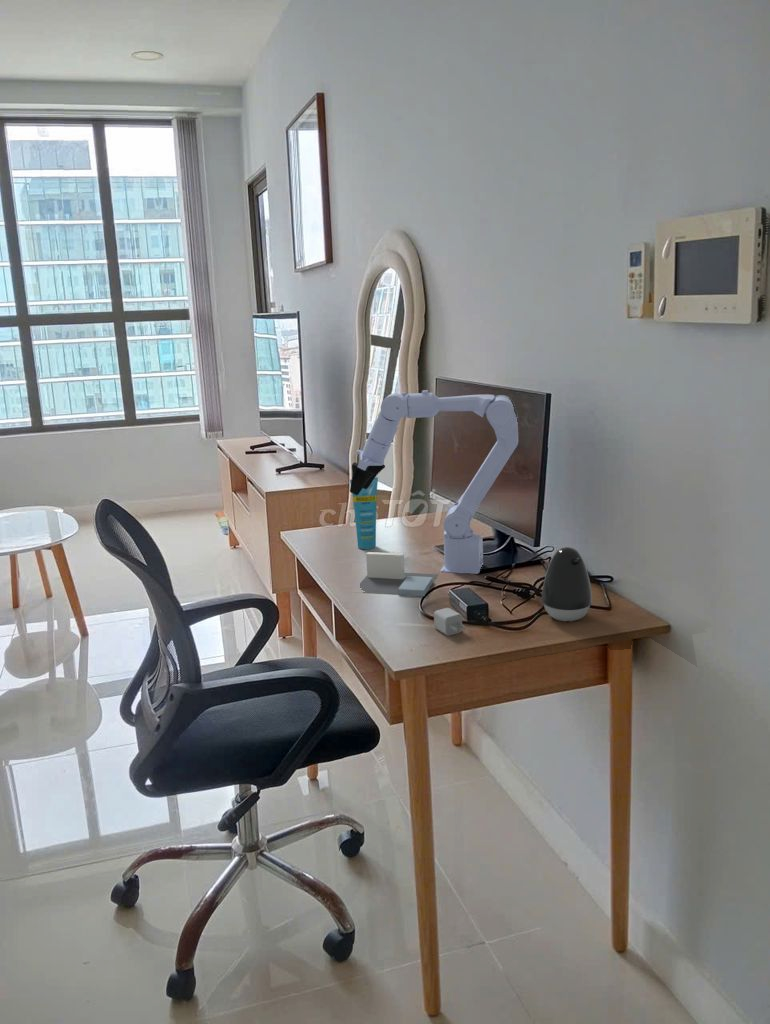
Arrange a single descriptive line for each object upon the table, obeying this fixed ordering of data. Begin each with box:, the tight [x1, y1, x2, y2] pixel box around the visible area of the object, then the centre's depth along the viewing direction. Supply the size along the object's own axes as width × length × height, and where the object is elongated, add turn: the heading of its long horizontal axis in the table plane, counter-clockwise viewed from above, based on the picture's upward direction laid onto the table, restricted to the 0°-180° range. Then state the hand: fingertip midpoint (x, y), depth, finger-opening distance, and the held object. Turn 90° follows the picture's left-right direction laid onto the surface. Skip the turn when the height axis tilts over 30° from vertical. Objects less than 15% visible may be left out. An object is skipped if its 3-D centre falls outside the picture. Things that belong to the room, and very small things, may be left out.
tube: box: [349, 476, 379, 550], centre depth 228 cm, size 7×5×19 cm, turn 103°
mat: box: [359, 572, 439, 597], centre depth 201 cm, size 17×15×1 cm
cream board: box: [365, 551, 406, 579], centre depth 204 cm, size 9×1×6 cm, turn 74°
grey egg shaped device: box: [541, 546, 593, 622], centre depth 175 cm, size 10×10×15 cm
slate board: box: [397, 576, 434, 597], centre depth 196 cm, size 9×6×1 cm, turn 164°
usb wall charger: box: [433, 607, 466, 637], centre depth 171 cm, size 4×7×4 cm, turn 28°
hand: (358, 490), depth 208 cm, fingers open, 7 cm apart
